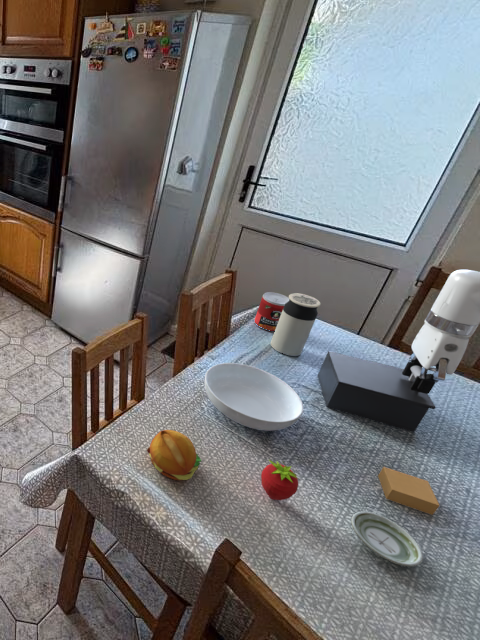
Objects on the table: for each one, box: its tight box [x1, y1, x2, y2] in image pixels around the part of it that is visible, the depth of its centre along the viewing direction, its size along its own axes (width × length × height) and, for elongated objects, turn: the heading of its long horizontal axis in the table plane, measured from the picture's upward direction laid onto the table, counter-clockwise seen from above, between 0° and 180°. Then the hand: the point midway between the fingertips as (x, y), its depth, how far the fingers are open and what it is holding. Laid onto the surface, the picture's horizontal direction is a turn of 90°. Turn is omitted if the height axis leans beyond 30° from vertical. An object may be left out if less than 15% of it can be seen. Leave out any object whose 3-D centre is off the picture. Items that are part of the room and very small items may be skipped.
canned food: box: [254, 291, 289, 332], centre depth 137 cm, size 8×8×11 cm
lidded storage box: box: [317, 352, 430, 433], centre depth 107 cm, size 17×14×8 cm
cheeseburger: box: [146, 429, 203, 482], centre depth 90 cm, size 10×11×10 cm
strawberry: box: [260, 459, 299, 501], centre depth 83 cm, size 6×8×10 cm
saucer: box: [350, 510, 424, 568], centre depth 76 cm, size 10×10×2 cm
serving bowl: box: [204, 362, 304, 432], centre depth 105 cm, size 21×21×7 cm
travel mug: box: [269, 292, 321, 357], centre depth 125 cm, size 8×8×18 cm
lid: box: [327, 350, 436, 410], centre depth 104 cm, size 18×14×5 cm
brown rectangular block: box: [377, 466, 440, 516], centre depth 85 cm, size 7×6×3 cm
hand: (414, 383), depth 101 cm, fingers closed on lid, 5 cm apart
